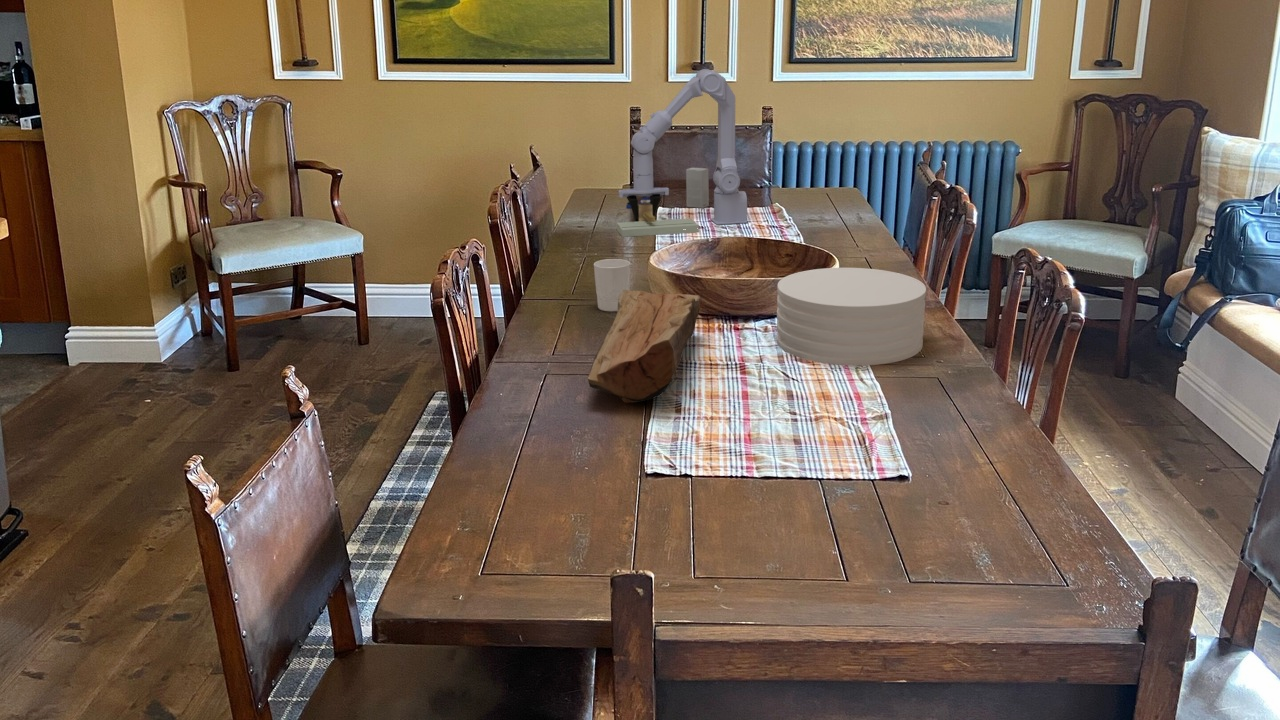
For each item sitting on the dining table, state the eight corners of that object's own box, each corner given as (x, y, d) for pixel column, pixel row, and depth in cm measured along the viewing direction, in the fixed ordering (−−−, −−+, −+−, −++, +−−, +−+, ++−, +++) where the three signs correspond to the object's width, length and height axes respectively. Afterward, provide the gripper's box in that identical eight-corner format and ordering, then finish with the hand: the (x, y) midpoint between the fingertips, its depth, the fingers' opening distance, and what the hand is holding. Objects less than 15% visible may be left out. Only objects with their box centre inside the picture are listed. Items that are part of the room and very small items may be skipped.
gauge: (649, 224, 317) (649, 202, 315) (659, 233, 306) (659, 210, 304) (636, 225, 316) (635, 203, 314) (646, 234, 305) (645, 211, 303)
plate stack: (837, 313, 229) (839, 260, 225) (951, 342, 209) (955, 285, 205) (746, 342, 212) (747, 286, 208) (861, 377, 192) (864, 315, 188)
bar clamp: (627, 196, 349) (658, 195, 349) (627, 203, 350) (658, 203, 349) (623, 220, 319) (657, 220, 318) (623, 228, 320) (657, 228, 319)
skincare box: (709, 206, 341) (709, 168, 337) (702, 208, 338) (702, 170, 334) (692, 204, 344) (692, 167, 340) (685, 207, 341) (685, 169, 337)
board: (691, 225, 315) (691, 218, 314) (698, 232, 306) (698, 224, 305) (616, 229, 312) (616, 222, 311) (622, 236, 302) (622, 229, 302)
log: (670, 411, 176) (678, 321, 173) (566, 399, 179) (572, 309, 176) (701, 366, 217) (709, 293, 214) (617, 357, 220) (622, 284, 217)
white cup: (618, 314, 231) (617, 269, 228) (588, 309, 235) (586, 265, 232) (638, 305, 237) (636, 261, 234) (608, 300, 241) (606, 257, 238)
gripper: (665, 170, 315) (665, 216, 319) (616, 173, 313) (617, 219, 317) (670, 174, 308) (670, 221, 313) (620, 177, 306) (621, 224, 311)
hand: (644, 220), depth 315 cm, fingers closed on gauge, 4 cm apart
